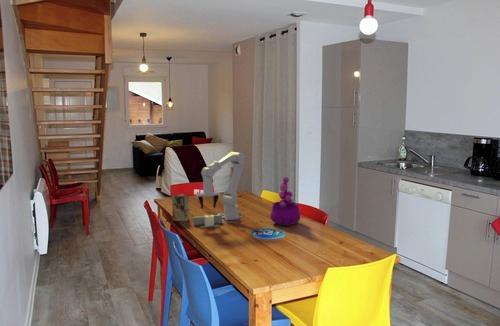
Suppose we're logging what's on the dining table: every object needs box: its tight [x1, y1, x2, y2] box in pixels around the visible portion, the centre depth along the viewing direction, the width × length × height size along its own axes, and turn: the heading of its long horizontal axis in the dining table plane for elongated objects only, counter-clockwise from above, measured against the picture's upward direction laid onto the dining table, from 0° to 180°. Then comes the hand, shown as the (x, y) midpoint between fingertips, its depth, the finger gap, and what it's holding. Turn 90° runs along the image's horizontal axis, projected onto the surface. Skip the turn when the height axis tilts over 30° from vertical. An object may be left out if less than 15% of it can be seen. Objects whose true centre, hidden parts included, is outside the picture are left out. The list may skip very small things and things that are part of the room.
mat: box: [198, 223, 221, 230], centre depth 257 cm, size 12×8×1 cm, turn 107°
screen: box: [192, 214, 223, 226], centre depth 261 cm, size 18×1×5 cm, turn 107°
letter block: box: [203, 214, 214, 227], centre depth 257 cm, size 5×5×6 cm
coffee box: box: [171, 194, 190, 222], centre depth 270 cm, size 9×6×16 cm
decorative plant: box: [269, 176, 301, 226], centre depth 261 cm, size 19×18×30 cm
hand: (208, 208), depth 260 cm, fingers open, 7 cm apart
